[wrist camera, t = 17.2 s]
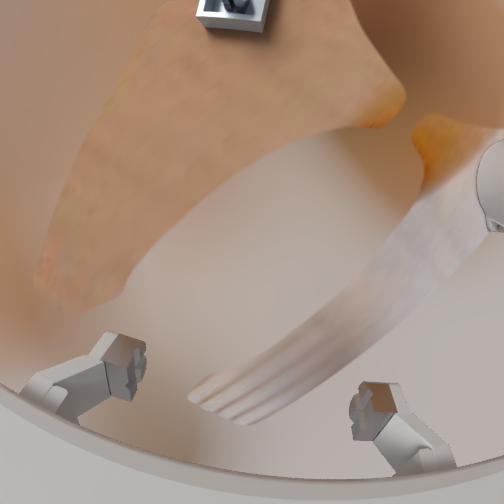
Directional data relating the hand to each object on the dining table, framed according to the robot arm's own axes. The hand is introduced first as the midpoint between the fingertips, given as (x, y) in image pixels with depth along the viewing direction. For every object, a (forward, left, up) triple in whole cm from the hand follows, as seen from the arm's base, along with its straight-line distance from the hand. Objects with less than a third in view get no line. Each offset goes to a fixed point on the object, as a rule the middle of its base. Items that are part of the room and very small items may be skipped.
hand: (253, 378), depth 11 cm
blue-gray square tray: (+10, -27, -37) cm, 47 cm away
